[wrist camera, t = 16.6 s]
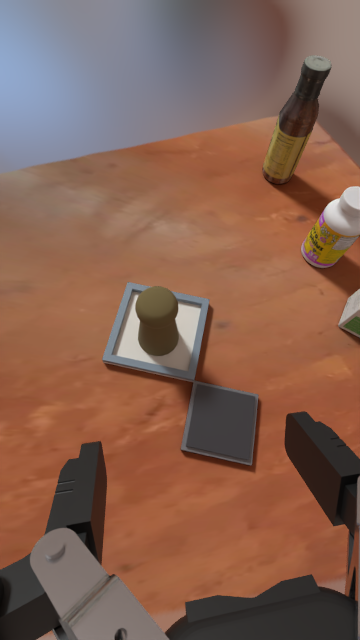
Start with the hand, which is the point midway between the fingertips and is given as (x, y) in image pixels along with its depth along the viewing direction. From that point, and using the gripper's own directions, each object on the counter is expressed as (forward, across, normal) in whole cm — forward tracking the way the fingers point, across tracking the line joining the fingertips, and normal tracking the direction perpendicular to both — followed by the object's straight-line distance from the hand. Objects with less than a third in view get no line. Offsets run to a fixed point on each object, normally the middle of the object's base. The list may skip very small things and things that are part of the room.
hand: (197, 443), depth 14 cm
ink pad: (+24, -8, +18) cm, 31 cm away
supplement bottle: (+42, -31, 0) cm, 52 cm away
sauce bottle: (+56, -28, -14) cm, 64 cm away
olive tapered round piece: (+33, -1, +9) cm, 34 cm away
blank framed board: (+34, -1, +8) cm, 35 cm away
